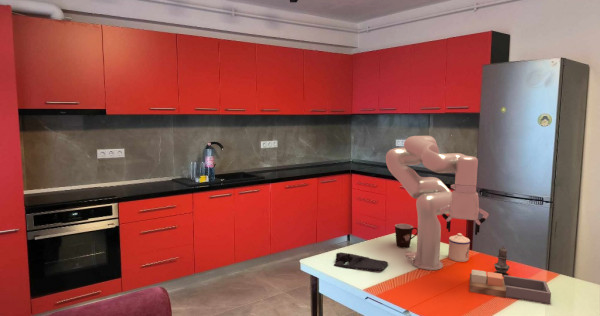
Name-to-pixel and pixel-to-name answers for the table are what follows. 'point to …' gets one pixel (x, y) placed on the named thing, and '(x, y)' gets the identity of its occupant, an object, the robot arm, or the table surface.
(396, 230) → the coffee mug
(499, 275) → the salmon orange block
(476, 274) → the cream white block
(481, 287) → the board
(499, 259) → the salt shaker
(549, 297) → the box
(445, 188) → the robot arm
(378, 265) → the dark slate chunk
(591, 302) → the table surface
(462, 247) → the teacup with lid
